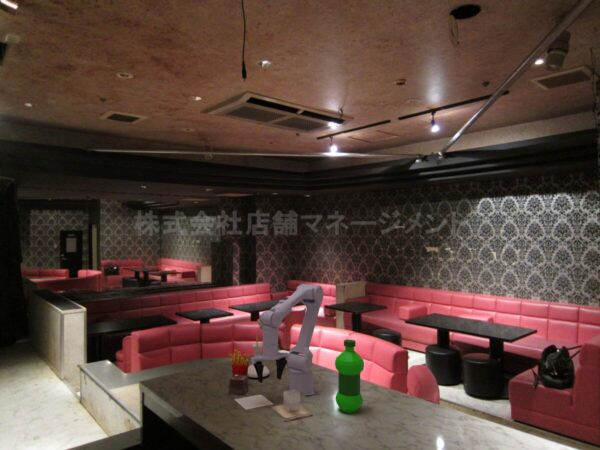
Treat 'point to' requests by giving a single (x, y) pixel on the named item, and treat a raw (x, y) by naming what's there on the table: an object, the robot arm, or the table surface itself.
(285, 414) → the stand
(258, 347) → the flower in vase
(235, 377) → the box
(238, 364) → the french fries
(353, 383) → the plastic bottle
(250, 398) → the stand
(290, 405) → the block
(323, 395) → the table surface
